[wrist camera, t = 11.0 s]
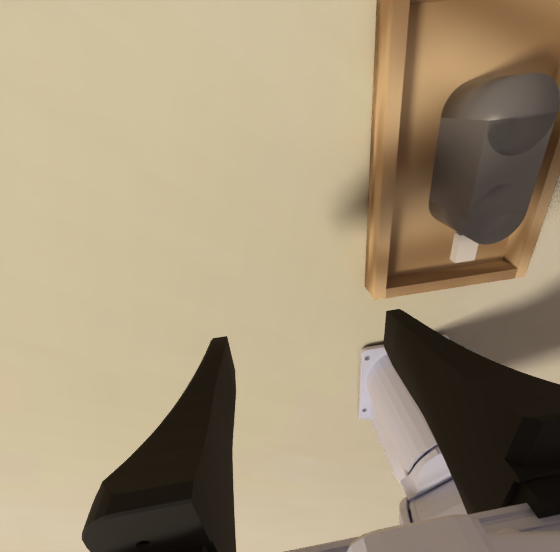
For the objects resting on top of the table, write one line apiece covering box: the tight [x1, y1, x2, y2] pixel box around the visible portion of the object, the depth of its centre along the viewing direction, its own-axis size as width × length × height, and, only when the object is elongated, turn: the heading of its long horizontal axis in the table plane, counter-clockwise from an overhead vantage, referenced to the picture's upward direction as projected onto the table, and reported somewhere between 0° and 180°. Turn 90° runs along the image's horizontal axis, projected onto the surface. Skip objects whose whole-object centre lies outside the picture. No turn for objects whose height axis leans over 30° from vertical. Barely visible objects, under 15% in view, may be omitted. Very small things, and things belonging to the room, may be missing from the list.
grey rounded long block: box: [429, 73, 560, 263], centre depth 19 cm, size 11×4×4 cm, turn 5°
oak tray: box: [365, 0, 560, 300], centre depth 19 cm, size 18×12×2 cm, turn 6°
